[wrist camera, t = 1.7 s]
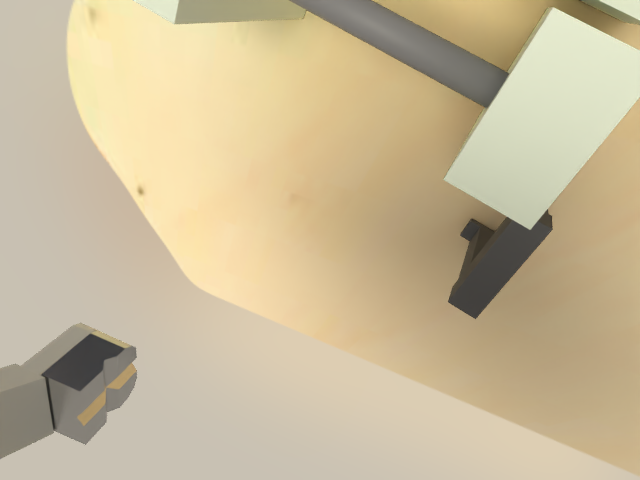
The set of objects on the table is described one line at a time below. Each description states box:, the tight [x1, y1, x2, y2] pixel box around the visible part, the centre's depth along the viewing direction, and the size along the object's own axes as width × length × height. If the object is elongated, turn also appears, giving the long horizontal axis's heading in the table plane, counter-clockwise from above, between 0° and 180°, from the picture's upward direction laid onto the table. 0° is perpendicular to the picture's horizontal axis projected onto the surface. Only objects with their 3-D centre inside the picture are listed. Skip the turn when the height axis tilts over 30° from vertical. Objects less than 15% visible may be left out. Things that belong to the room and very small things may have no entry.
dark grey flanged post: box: [448, 209, 553, 319], centre depth 29 cm, size 3×7×9 cm, turn 156°
